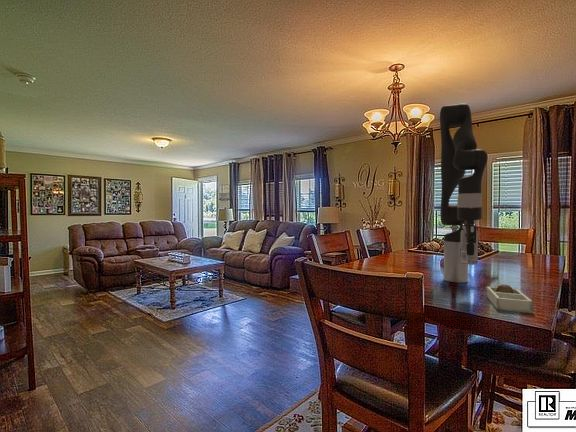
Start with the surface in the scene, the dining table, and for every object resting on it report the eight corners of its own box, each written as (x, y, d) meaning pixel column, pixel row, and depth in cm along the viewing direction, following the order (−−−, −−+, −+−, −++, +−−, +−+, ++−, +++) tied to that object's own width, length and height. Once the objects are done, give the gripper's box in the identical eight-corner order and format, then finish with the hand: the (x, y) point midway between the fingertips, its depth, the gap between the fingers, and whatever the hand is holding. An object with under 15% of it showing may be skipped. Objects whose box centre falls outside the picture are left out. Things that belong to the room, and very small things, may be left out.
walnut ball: (494, 296, 108) (494, 282, 108) (511, 297, 106) (511, 283, 106) (498, 299, 104) (498, 285, 104) (515, 301, 102) (515, 286, 102)
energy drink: (473, 262, 114) (473, 229, 113) (480, 264, 108) (481, 230, 108) (457, 262, 114) (457, 229, 114) (464, 264, 109) (464, 230, 108)
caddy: (486, 296, 111) (486, 286, 110) (517, 299, 107) (517, 289, 107) (497, 309, 96) (497, 298, 96) (533, 313, 92) (533, 301, 92)
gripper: (455, 206, 118) (454, 250, 119) (460, 206, 105) (459, 256, 106) (477, 206, 116) (477, 251, 116) (485, 206, 102) (485, 257, 103)
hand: (469, 253), depth 111 cm, fingers closed on energy drink, 5 cm apart
